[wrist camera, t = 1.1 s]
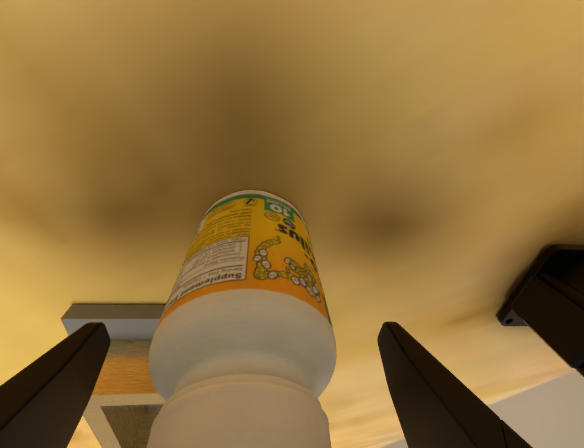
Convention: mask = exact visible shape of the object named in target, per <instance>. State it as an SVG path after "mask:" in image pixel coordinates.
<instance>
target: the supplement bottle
mask: <svg viewBox="0 0 584 448" xmlns="http://www.w3.org/2000/svg"><path fill="white" fill-rule="evenodd" d="M335 364H336V343H335V337H334V332H333V328H332V324H331V320H330V316H329V312H328V308H327V304H326V301H325V296H324V292H323V288H322V285H321V282H320V278H319V274H318V269H317V266H316V264H315V258H314V254H313V250H312V246H311V243H310V239H309V234H308V231H307V227H306V224H305V222H304V220H303V218H302V216H301V215H300V213H299V212H298V210H297V209H296V208H295V207H294V206H293V205H292V204H290V203H289V202H287V201H286V200H284V199H282V198H280V197H278V196H276V195H273V194H271V193H268V192H264V191H258V190H243V191H239V192H235V193H232V194H229V195H227V196H225V197H223V198H221V199H219V200H218V201H217V202H215V203H214V204H213V205H212V206H211V207H210V208H209V209H208V210H207V212H206V213H205V215H204V216H203V218H202V220H201V222H200V224H199V227H198V229H197V231H196V234H195V236H194V238H193V241H192V243H191V246H190V248H189V250H188V253H187V255H186V258H185V260H184V263H183V265H182V268H181V270H180V273H179V275H178V277H177V280H176V282H175V284H174V287H173V289H172V292H171V294H170V297H169V299H168V301H167V304H166V306H165V308H164V311H163V313H162V316H161V319H160V321H159V324H158V326H157V328H156V331H155V333H154V336H153V339H152V343H151V346H150V351H149V372H150V376H151V379H152V382H153V385H154V387H155V389H156V390H157V392H158V393H159V395H160V396H161V397H162V399H163V400H164V401H165V402H166V403H165V404H164V405H163V407H162V408H161V410H160V412H159V414H158V415H157V417H156V418H155V420H154V422H153V424H152V427H151V431H150V437H149V440H148V444H147V447H146V448H331V441H330V434H329V422H328V418H327V416H326V414H325V412H324V411H323V409H322V407H321V404H320V402H319V401H318V399H317V398H318V397H319V396H320V395H321V393H322V392H323V391H324V390H325V388H326V387H327V385H328V383H329V382H330V379H331V377H332V375H333V372H334V369H335Z"/></svg>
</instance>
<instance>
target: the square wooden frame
mask: <svg viewBox="0 0 584 448" xmlns="http://www.w3.org/2000/svg"><path fill="white" fill-rule="evenodd" d="M151 343H152V339H139V340H111V343H110V347H109V350H108V353H107V355H106V358H105V361H104V364H103V366H102V369H101V372H100V374H99V377H98V380H97V382H96V385H95V388H94V390H93V393H92V395H91V398H90V400H89V402H88V405H87V407H86V409H85V411H84V413H83V416H84V418H85V420H86V421H87V423H88V425H89V426H90V428H91V430H92V431H93V433H94V435H95V436H96V438H97V440H98V441H99V443H100V445H101V446H102V448H146V447H147V444H148V440H149V437H150V431H151V427H152V424H153V422H154V420H155V418H156V417H157V415H158V414H159V412H160V410H161V408H162V407H163V406H162V407H147V406H146V404H165V403H166V402H165V401H164V400H163V399H162V397H161V396H160V395H159V393H158V392H157V390H156V389H155V387H154V385H153V382H152V379H151V376H150V372H149V351H150V346H151Z"/></svg>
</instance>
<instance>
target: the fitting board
mask: <svg viewBox="0 0 584 448" xmlns="http://www.w3.org/2000/svg"><path fill="white" fill-rule="evenodd" d="M165 306H166V305H109V304H72V306H71V307H70V308H69V309H68V311H67V312H66V313H65V314H64V315H63V317H62V318H61V321H62V323H63V325H64V327H65V329H66V331H67V333H68V335H71V334H72V333H74V332H75V331H76V330H78V329H79V328H80V327H82V326H83V325H85V324H86V323H89V322H103V323H104V324H105V326H106V328H107V331H108V334H109V336H110V340H139V339H153V336H154V333H155V331H156V328H157V326H158V324H159V321H160V319H161V316H162V313H163V311H164V308H165ZM163 405H164V404H146V406H147V407H162V406H163Z"/></svg>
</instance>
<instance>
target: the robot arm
mask: <svg viewBox="0 0 584 448" xmlns="http://www.w3.org/2000/svg"><path fill="white" fill-rule="evenodd" d="M497 319H498V321H499V322H500V323H501V324H502V325H503V326H529V327H530V328H531V329H532V330H533V331H534V332H535V333H536V334H537V335H538V336H539V337H540V338H541V339H542V340H543V341H544V342H545V343H546V344H547V345H548V346H549V347H550V348H551V349H552V350H553V351H554V352H555V353H556V354H557V355H558V356H559V357H560V358H561V359H562V360H563V361H564V362H565V363H566V364H567V365H568V366H570V367H571V368H575V369H576V370H577V371H578V372H579V373H580V374H581V375H582V376H583V377H584V246H568V245H553V246H551V247H549V248H547V249H546V250H545V251H544V253H543V254H542V255H541V257H540V258H539V260H538V261H537V262H536V264H535V265H534V267H533V268H532V269H531V271H530V272H529V274H528V275H527V277H526V278H525V279H524V281H523V282H522V284H521V285H520V286H519V288H518V289H517V291H516V292H515V293H514V295H513V296H512V298H511V299H510V301H509V302H508V303H507V305H506V306H505V308H504V309H503V310H502V312H501V313H500V315H499V316H498V318H497ZM110 343H111V340H110V336H109V334H108V331H107V328H106V326H105V324H104V323H103V322H89V323H86V324H85V325H83V326H82V327H80V328H79V329H78V330H76V331H75V332H74V333H72V334H71V335H69V336H68V337H67V338H65V339H64V340H63V341H61V342H60V343H58V344H57V345H56V346H54V347H53V348H52V349H50V350H49V351H48V352H46V353H45V354H43V355H42V356H41V357H39V358H38V359H37V360H35V361H34V362H32V363H31V364H30V365H28V366H27V367H26V368H24V369H23V370H21V371H20V372H19V373H17V374H16V375H15V376H13V377H12V378H11V379H9V380H8V381H6V382H5V383H4V384H2V385H1V386H0V448H67V446H68V444H69V442H70V440H71V438H72V435H73V433H74V431H75V429H76V427H77V425H78V423H79V421H80V419H81V417H82V415H83V413H84V411H85V409H86V407H87V405H88V402H89V400H90V398H91V395H92V393H93V390H94V388H95V385H96V382H97V380H98V377H99V374H100V372H101V369H102V366H103V364H104V361H105V358H106V355H107V353H108V350H109V347H110ZM378 346H379V351H380V355H381V359H382V363H383V368H384V372H385V376H386V380H387V384H388V388H389V392H390V395H391V398H392V401H393V404H394V407H395V410H396V413H397V415H398V418H399V421H400V424H401V427H402V430H403V433H404V436H405V439H406V442H407V445H408V448H532V447H531V446H530V445H529V444H528V443H527V442H526V441H525V440H524V439H522V438H521V437H520V436H519V435H518V434H517V433H516V432H515V431H514V430H513V429H511V428H510V427H509V426H508V425H507V424H506V423H505V422H504V421H503V420H500V418H499V417H498V416H497V415H496V414H495V413H494V412H493V411H492V410H491V409H490V408H489V407H488V406H487V405H485V404H484V403H483V402H482V401H481V400H480V399H479V398H478V397H477V396H476V395H475V394H474V393H473V392H471V391H470V390H469V389H468V388H467V387H466V386H465V385H464V384H463V383H462V382H461V381H460V380H459V379H457V378H456V377H455V376H454V375H453V374H452V373H451V372H450V371H449V370H448V369H447V368H446V367H444V366H443V365H442V364H441V363H440V362H439V361H438V360H437V359H436V358H435V357H434V356H433V355H432V354H430V353H429V352H428V351H427V350H426V349H425V348H424V347H423V346H422V345H421V344H420V343H419V342H418V341H416V340H415V339H414V338H413V337H412V336H411V335H410V334H409V333H408V332H407V331H406V330H405V329H404V328H402V327H401V326H400V325H399V324H398V323H396V322H384V323H383V325H382V328H381V330H380V333H379V335H378Z"/></svg>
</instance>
